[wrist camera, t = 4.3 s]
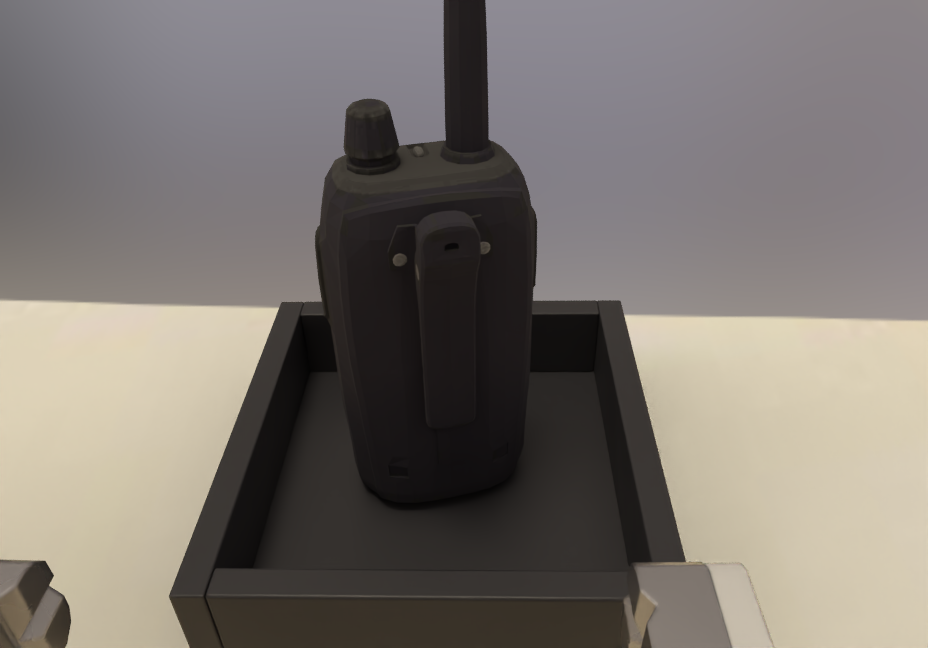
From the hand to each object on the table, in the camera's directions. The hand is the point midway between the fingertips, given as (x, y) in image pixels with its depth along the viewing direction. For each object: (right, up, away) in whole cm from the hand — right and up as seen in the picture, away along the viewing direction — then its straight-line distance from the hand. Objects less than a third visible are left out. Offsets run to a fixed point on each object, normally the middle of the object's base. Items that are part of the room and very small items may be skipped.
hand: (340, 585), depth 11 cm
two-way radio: (+1, -1, +12) cm, 12 cm away
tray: (+1, -1, +12) cm, 13 cm away
